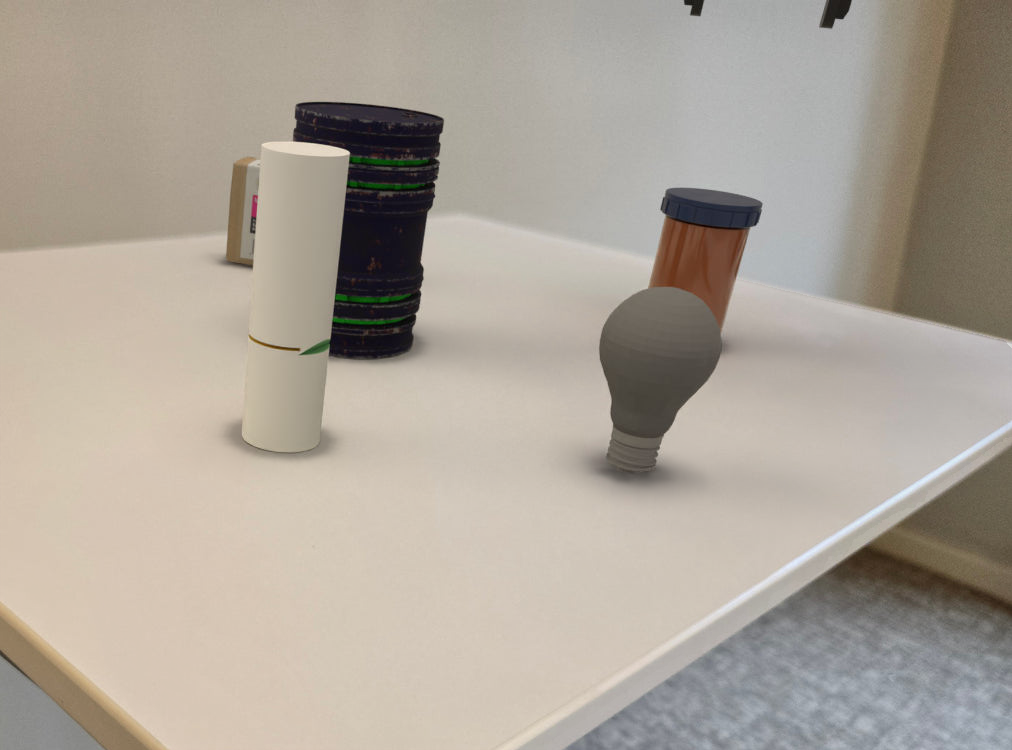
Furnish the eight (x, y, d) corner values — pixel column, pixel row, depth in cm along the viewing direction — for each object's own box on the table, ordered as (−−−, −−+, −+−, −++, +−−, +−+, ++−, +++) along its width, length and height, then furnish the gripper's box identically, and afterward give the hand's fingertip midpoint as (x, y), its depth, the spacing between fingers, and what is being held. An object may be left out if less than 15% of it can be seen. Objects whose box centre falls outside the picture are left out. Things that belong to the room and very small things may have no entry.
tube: (249, 452, 57) (270, 153, 50) (235, 422, 60) (254, 139, 53) (327, 452, 57) (360, 158, 50) (310, 422, 61) (337, 144, 54)
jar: (664, 323, 87) (697, 193, 82) (732, 345, 83) (770, 209, 78) (621, 333, 83) (653, 197, 78) (690, 356, 79) (728, 214, 74)
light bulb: (653, 448, 62) (698, 275, 57) (705, 493, 57) (759, 307, 52) (556, 447, 61) (593, 271, 56) (600, 493, 56) (646, 303, 51)
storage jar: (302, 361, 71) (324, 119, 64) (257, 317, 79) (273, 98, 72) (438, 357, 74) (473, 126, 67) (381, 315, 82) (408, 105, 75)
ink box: (223, 263, 92) (229, 161, 88) (238, 254, 95) (244, 155, 92) (338, 281, 90) (349, 177, 86) (349, 272, 93) (360, 171, 89)
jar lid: (691, 205, 83) (697, 185, 82) (774, 224, 78) (780, 203, 78) (642, 211, 79) (647, 189, 78) (726, 231, 74) (732, 208, 74)
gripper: (954, -259, 66) (865, 32, 74) (713, -266, 70) (653, 11, 78) (979, -287, 60) (880, 34, 68) (713, -294, 64) (647, 11, 71)
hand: (758, 21), depth 73 cm, fingers open, 8 cm apart
